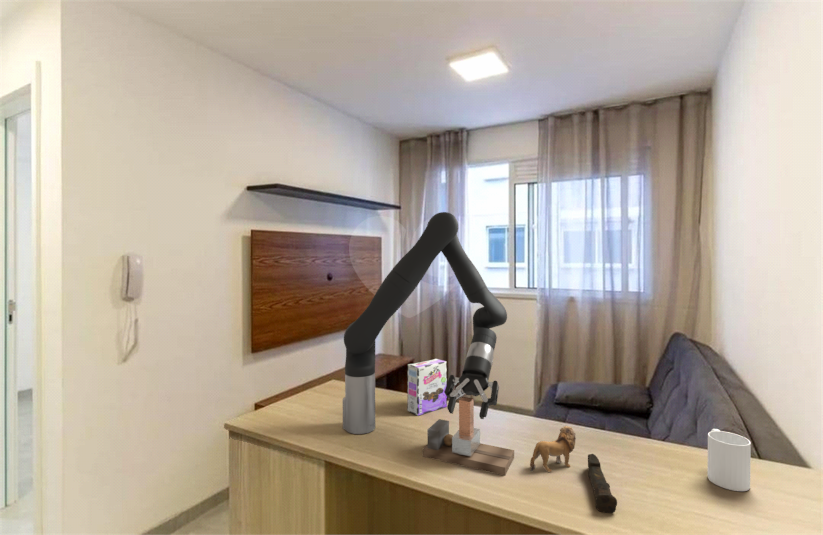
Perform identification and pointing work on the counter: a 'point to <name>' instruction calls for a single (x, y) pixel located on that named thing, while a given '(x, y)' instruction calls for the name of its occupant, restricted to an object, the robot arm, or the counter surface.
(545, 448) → the lion figurine
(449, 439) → the hazelnut
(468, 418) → the block
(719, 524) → the counter surface
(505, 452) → the press base
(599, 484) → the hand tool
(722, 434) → the mug
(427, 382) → the candy box
